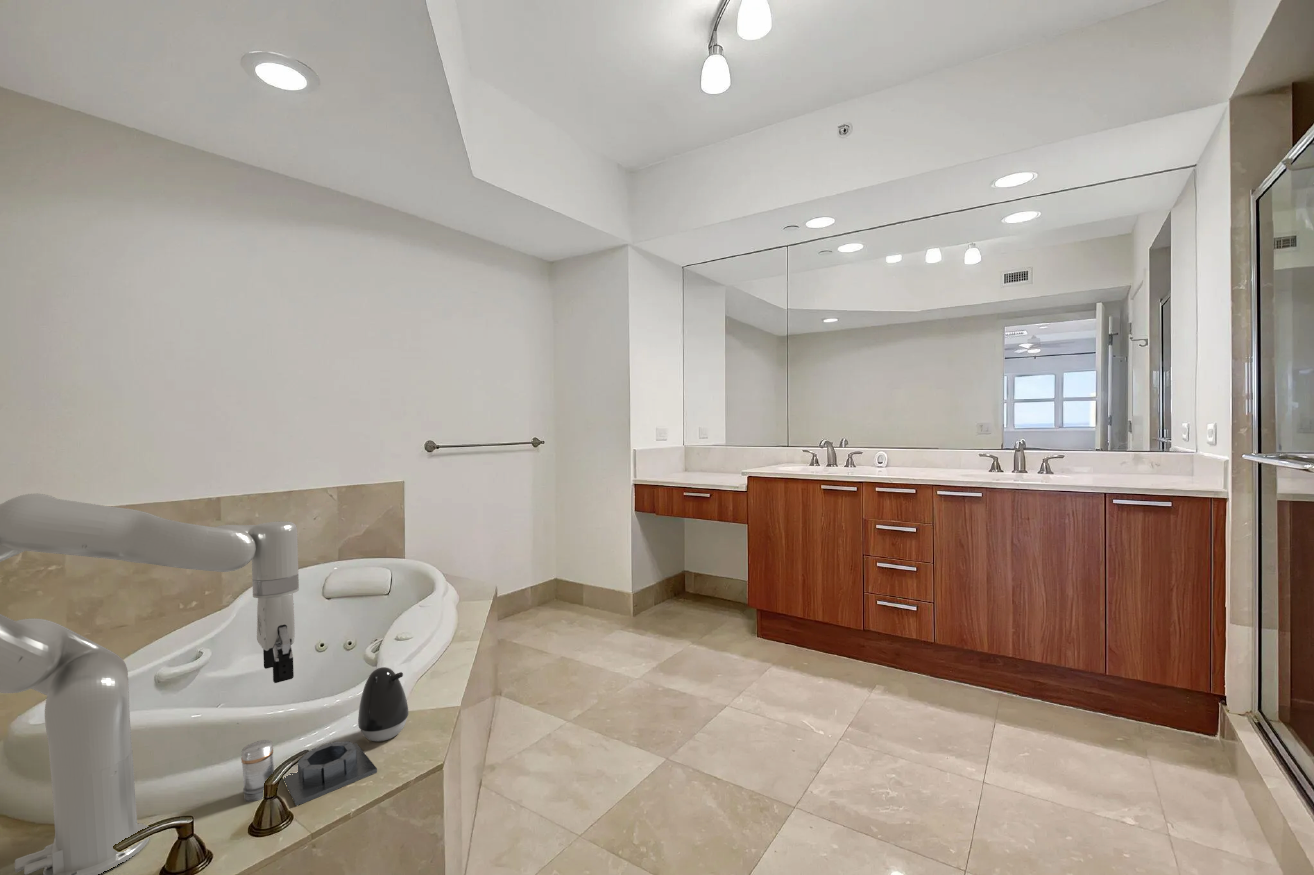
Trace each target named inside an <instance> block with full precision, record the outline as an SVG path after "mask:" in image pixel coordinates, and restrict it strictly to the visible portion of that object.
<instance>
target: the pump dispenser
mask: <svg viewBox="0 0 1314 875" xmlns="http://www.w3.org/2000/svg"><path fill="white" fill-rule="evenodd" d="M403 676H404V673H403V672H402V671H400V672H397V673H396V672H395V671H394V670H393V669H391V668H389V667H387V666H385V667H384V666H382V667H378V668H376V669H375V670H373V671H372V672H371V673H370V675H368V678H367V679H366V681H365V685H364V687H363V691H362V694H361V696H360V702H359V706H358V720H357V722H358V723H357V724H358V726H357V727H358V728H359V729H360V731H361V734H362V735H363V737H365V738H366V739H367V740H369V741H371V742H384V741H387V740H390V739H392V738H394V737H396V736H397V735H398V734H400V732H401V731H402V730H403V729H404V727H405V726H406V723H407V720H408V719H407V718H408V717H409V705H408V701H407V700H408V699H407V697H406V693H405V690H404V688H403V685H402V683H401V681H400V678H402V677H403Z"/></svg>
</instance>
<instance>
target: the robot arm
mask: <svg viewBox="0 0 1314 875" xmlns="http://www.w3.org/2000/svg"><path fill="white" fill-rule="evenodd" d="M298 541H299V540H298V528H297V525H296V523H294V522H293V521H287V520H285V521H283V520H281V521H270V522H269V521H268V522H262V523H258V524H223V525H218V526H207V525H201V524H193V523H189V522H188V523H187V522H181V521H178V520H172V519H167V518H164V517H161V516H158V515H155V514H152V513H149V512H146V511H142V510H138V509H135V508H134V509H132V508H125V507H124V508H123V507H116V506H110V505H103V504H102V505H101V504H95V503H94V504H93V503H87V502H81V501H75V500H67V499H61V498H56V497H54V496H52V495H48V494H43V493H28V494H22V495H17V496H15V497H13V498H10V499H8V500H5V501H4V502H2V503H0V563H2V562H3V561H5V560H8V559H9V558H12V557H15V556H17V555H19V554H22V553H23V552H35V553H45V554H55V555H65V556H66V555H68V556H78V557H87V558H96V559H97V558H98V559H105V560H115V561H123V562H129V563H135V564H146V565H155V566H161V567H169V568H176V569H177V568H178V569H185V570H195V571H205V572H207V571H208V572H220V573H227V572H229V573H230V572H234V571H239V570H240V569H242V568H245V567H246V566H248V564H249V563H250V562H251V573H252V575H251V577H252V578H251V579H252V581H251V582H252V583H251V584H252V597H253V598H255V599H257V604H256V605H257V606H256V607H257V608H256V609H257V610H256V611H257V612H256V614H257V616H256V621H257V622H256V625H257V626H256V640H257V642H258V644H259V645H260V647H261V648H262V649H263V668H264V669H267V670H268V669H271V668H272V681H273V683H274V684H277V683H281V682H285V681H290V680H292V679H293V678H294V673H295V672H294V655H293V650H292V645H293V644H295V638H296V637H295V634H296V633H295V610H294V608H295V606H294V604H295V603H294V594H295V593H297V592H298V591H299V590H300V588H299V587H300V584H299V580H300V579H299V549H298V547H299V546H298V545H299V544H298V543H299V542H298ZM128 673H129V672H128V667H127V664H126V662H125V661H124V659H123V658H122V657H121V656H119V655H118V654H117V653H115V652H113V651H112V650H110V649H108V648H107V647H104V646H103V645H100V644H99V643H97V642H95V641H93V640H91V639H89V638H87V637H85V636H83V635H81V634H79V633H77V632H76V631H73V630H72V629H70V628H68V627H65V626H64V625H61V624H59V623H57V622H55V621H52V620H48V619H44V618H23V619H19V620H18V619H17V620H14V619H12V618H10V617H8V616H6V615H3V614H1V613H0V694H17V693H22V692H25V691H28V690H33V691H36V692H38V693H40V694H42V695H45V696H46V700H45V704H44V724H45V731H46V737H47V744H48V757H49V769H50V778H51V790H52V805H53V808H52V809H53V819H54V820H53V821H54V833H55V834H54V838H53V843H51V844H48V845H46V846H45V847H44V849H41V850H39V851H36V852H33V853H28V854H26V855H24V856H21V857H18V858H15V860H14V872H15V874H16V873H17V874H18V873H19V872H23V871H24V875H29V874H33V873H34V872H37V871H39V870H41V869H43V872H42V873H43V875H98V874H100V875H102V874H104V873H105V872H104V871H107V870H108V869H110V868H111V867H114V866H116V865H118V864H119V863H122V862H124V863H125V862H126V860H127V861H128V860H130V859H131V858H133V857H134V856H135V855H137V854H138V853H139V852H140V851H141V850H142V849H143V848H144V847H145V846H146V845H147V843H148V842H149V840H150V838H148V839H146V840H144V841H142V842H139V843H138V844H137V845H134V846H133V847H131V848H129V849H127V850H126V851H124V852H117V851H115V850H114V849H113V846H114V845H115V844H118V843H119V842H121V841H122V840H124V839H125V838H128V837H130V836H131V835H133V834H135V833H137V832H138V831H140V830H142V829H145V828H147V827H149V826H148V825H147V824H144V823H138V816H137V801H136V800H137V799H136V787H135V772H134V771H135V770H134V757H133V756H134V755H133V747H132V746H133V742H132V732H131V728H132V727H131V715H130V714H131V711H130V686H129V674H128ZM132 856H133V857H132ZM129 858H130V859H129ZM122 864H123V863H122ZM118 866H119V865H118ZM116 867H117V866H116ZM103 872H104V873H103ZM107 872H108V871H107ZM101 873H102V874H101Z"/></svg>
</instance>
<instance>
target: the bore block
mask: <svg viewBox="0 0 1314 875" xmlns="http://www.w3.org/2000/svg"><path fill="white" fill-rule="evenodd" d="M297 765H298V772H297V773H290V774H291V775H288V776H286V778H285V777H284V781H285V783H286V785H287V788H288V790H289V792H290V794H291V796H292V798H293V800H292V802H293V801H294V802H293V804H294V803H295V804H294V806H295V805H296V806H295V807H297V805H298V806H300V805H299V804H301V805H303V804H305V803H308V802H310V801H312V799H313V800H315V799H317V798H319V797H322V796H324V795H326V794H329V793H332V792H334V791H337V790H339V789H340V788H341V789H342V788H344V787H345V786H348V785H350V784H353V783H355V782H357V781H359V780H362V779H365V778H368V777H369V776H372V775H374V774H376V773H378V768H377V767H376V766H375V764H374V763H373V762H372V760H371V759H370V758H369V757H368V755H367V754H366V753H365V752H364V750H363V749H362V748H361V747H360V746H359V745H358V743H357V742H354V743H353V742H351V741H334V742H333V741H332V742H329V743H326V744H323V745H321V746H318V747H315V748H313V749H311V750H309V751H307V753H306V754H304V755H303V756H302V757H301V758H300V759H299V760H298V762H297ZM292 774H293V775H292ZM284 781H283V782H284ZM285 783H284V784H285ZM287 788H286V789H287ZM288 790H287V791H288ZM289 792H288V793H289ZM290 794H289V795H290ZM291 796H290V797H291ZM292 798H291V799H292ZM307 801H308V802H307Z"/></svg>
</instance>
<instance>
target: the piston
mask: <svg viewBox="0 0 1314 875" xmlns="http://www.w3.org/2000/svg"><path fill="white" fill-rule="evenodd" d="M240 761H241V765H242V779H243V789H242V791H243V795H244V796H243V797H244V801H245V802H256V801H260V800H263V799H262V797H263V790H264V783H265V781H266V779H267V778H268V777H269V776H270V775H271V774H273V772H274V773H275V769H274V767H275V765H274V747H273V741H272V740H270V739H262V740H258V741H254V742H252V743H250V744H247V745H246V746H244V747H243V748H242V749H241V760H240Z"/></svg>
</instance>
